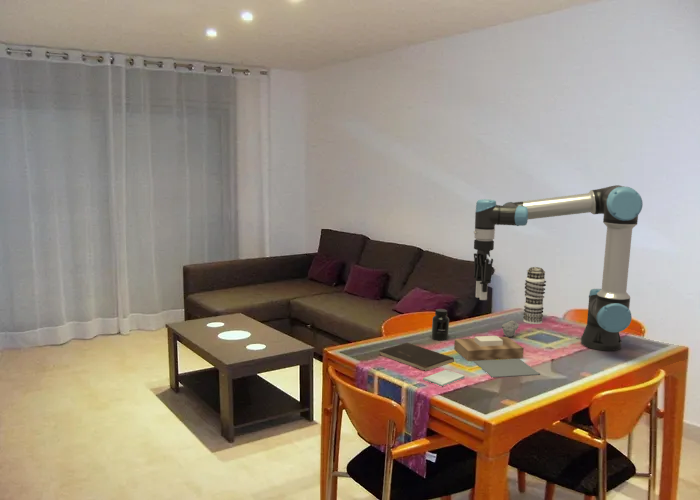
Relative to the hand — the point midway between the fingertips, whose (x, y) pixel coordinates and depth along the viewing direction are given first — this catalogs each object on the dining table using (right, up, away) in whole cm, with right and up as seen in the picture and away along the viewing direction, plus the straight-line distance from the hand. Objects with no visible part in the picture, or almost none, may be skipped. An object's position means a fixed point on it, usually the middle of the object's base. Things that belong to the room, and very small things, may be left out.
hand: (481, 298), depth 240 cm
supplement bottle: (-14, -18, +13) cm, 26 cm away
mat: (+4, -23, -21) cm, 32 cm away
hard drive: (-20, -26, -32) cm, 46 cm away
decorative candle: (+32, -14, +40) cm, 53 cm away
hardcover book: (-27, -22, -12) cm, 37 cm away
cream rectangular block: (+1, -17, -6) cm, 18 cm away
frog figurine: (+15, -18, +16) cm, 29 cm away
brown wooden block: (+1, -21, -5) cm, 22 cm away
